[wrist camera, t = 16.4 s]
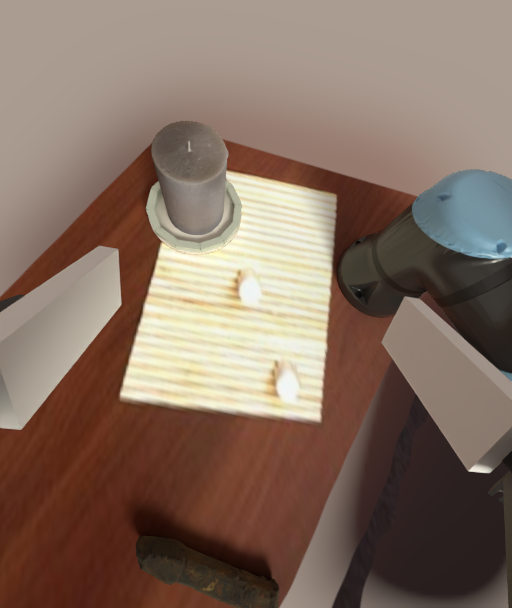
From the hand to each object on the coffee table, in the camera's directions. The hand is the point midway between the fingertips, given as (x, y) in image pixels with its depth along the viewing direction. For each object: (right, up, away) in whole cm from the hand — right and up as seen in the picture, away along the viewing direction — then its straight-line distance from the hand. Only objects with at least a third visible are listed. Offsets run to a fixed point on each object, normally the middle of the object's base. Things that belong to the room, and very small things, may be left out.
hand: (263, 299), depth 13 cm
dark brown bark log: (-7, -35, +24) cm, 43 cm away
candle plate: (-11, +16, +37) cm, 41 cm away
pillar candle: (-11, +16, +36) cm, 41 cm away
